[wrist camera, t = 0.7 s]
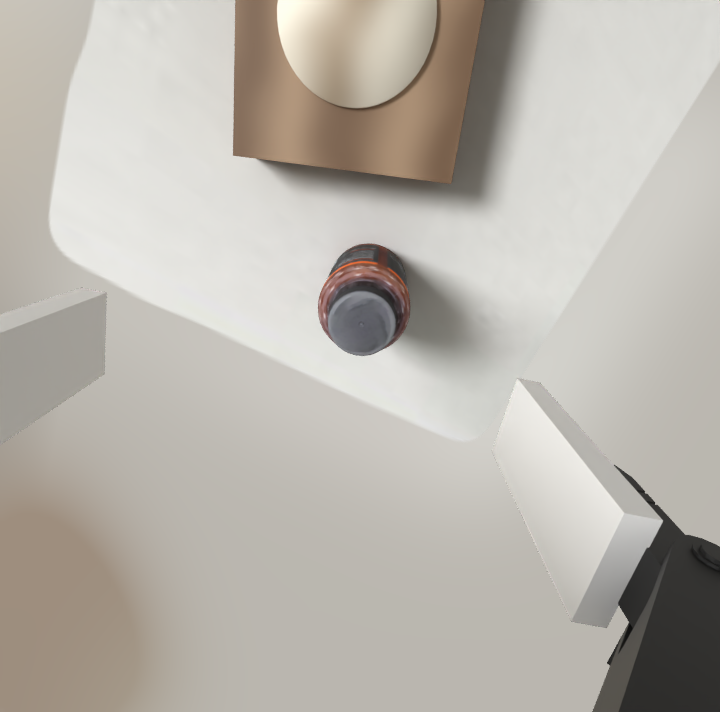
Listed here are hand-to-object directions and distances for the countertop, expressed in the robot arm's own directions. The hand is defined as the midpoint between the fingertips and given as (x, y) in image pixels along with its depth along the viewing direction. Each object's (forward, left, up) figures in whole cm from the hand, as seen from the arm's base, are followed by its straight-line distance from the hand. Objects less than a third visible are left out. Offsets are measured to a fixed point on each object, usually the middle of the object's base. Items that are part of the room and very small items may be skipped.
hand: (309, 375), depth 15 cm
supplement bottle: (-1, +2, -24) cm, 24 cm away
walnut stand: (+1, -14, -23) cm, 27 cm away
